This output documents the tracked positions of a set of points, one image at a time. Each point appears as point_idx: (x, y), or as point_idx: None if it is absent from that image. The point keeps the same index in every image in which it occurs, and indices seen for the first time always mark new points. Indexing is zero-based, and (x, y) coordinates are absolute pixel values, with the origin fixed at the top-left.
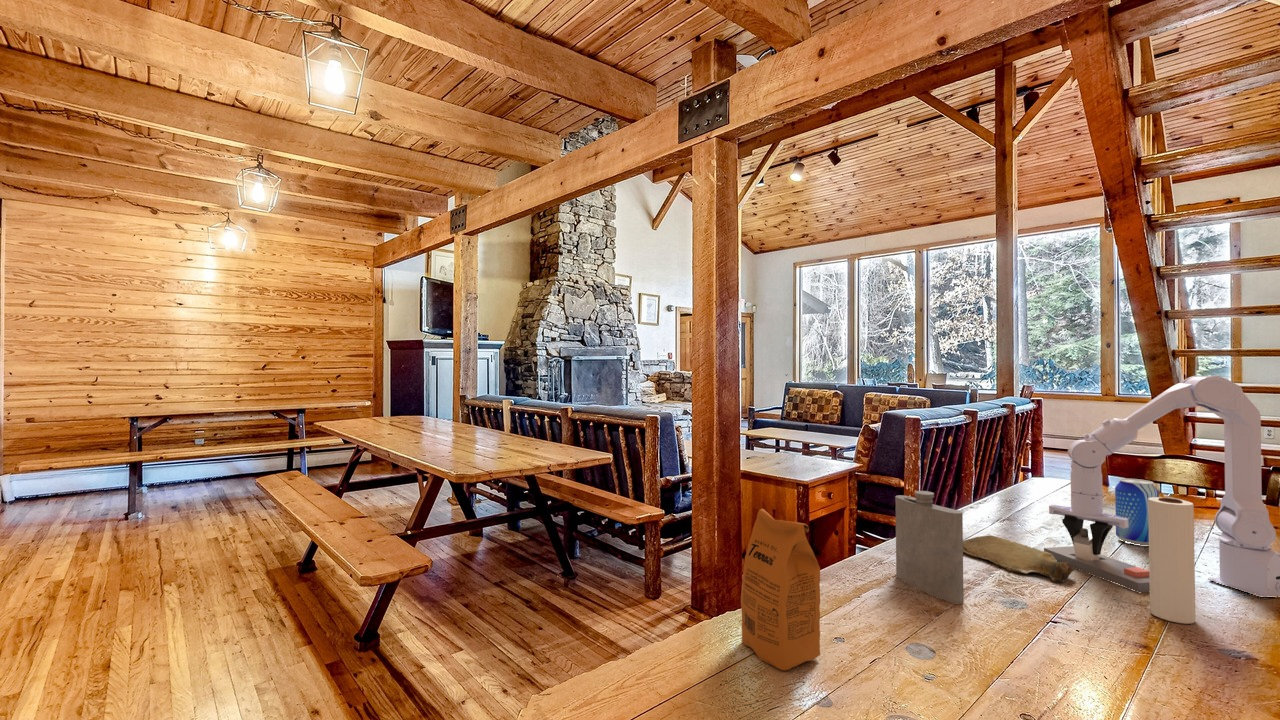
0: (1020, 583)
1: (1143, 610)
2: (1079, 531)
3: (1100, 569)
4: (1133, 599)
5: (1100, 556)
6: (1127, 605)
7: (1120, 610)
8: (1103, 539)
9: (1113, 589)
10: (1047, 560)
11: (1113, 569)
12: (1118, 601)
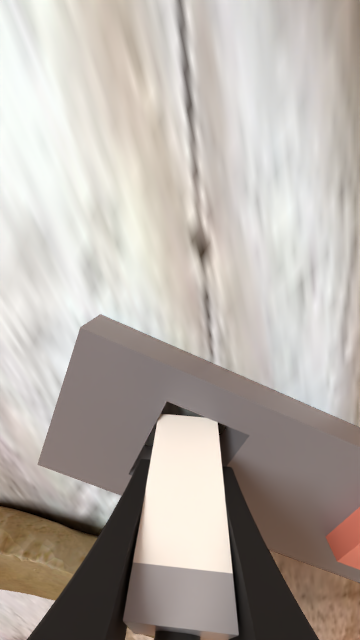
0: None
1: (357, 612)
2: (117, 624)
3: None
4: (337, 579)
5: (218, 415)
6: (329, 608)
7: (320, 630)
8: (274, 581)
9: None
10: (149, 635)
11: (292, 527)
12: (311, 601)
